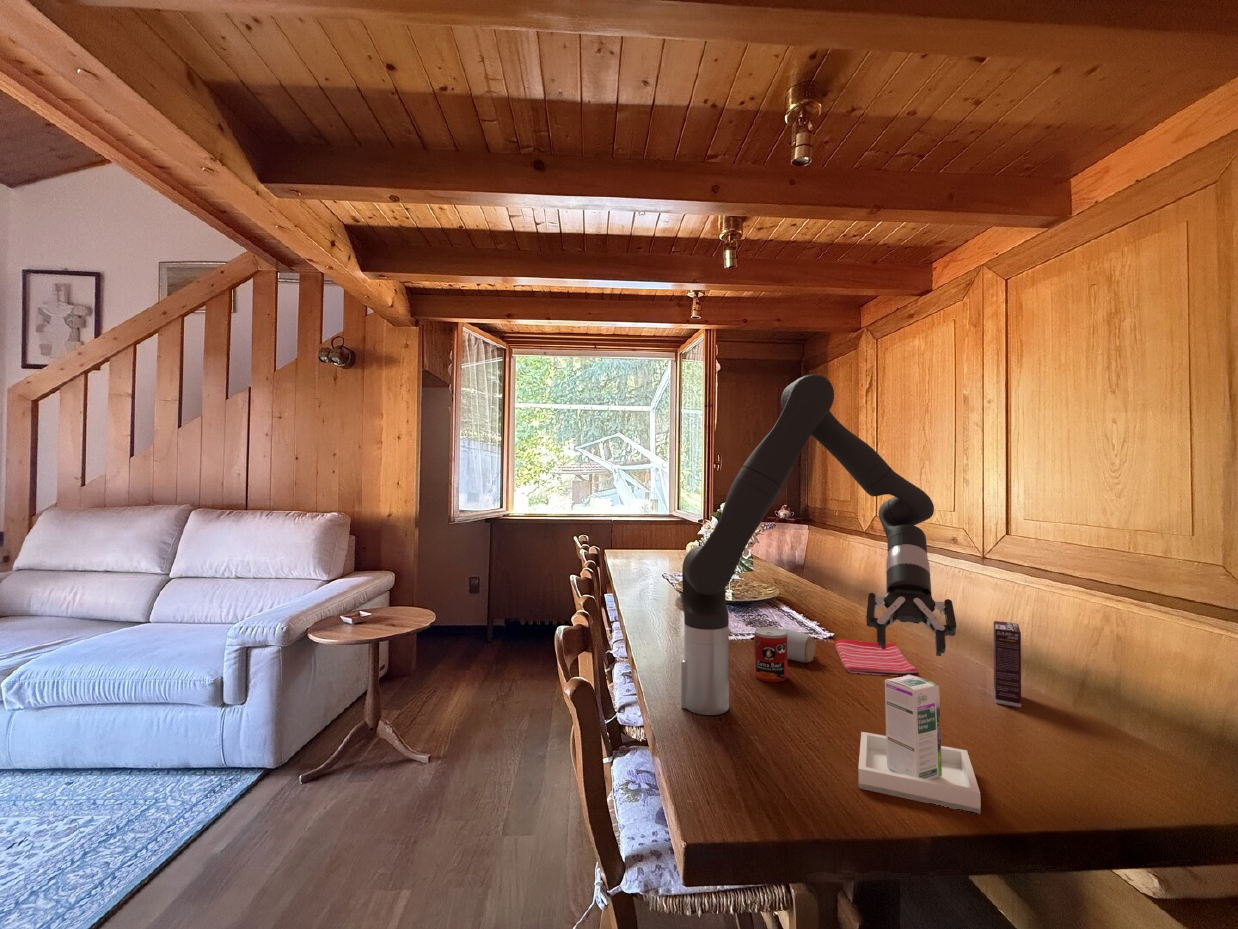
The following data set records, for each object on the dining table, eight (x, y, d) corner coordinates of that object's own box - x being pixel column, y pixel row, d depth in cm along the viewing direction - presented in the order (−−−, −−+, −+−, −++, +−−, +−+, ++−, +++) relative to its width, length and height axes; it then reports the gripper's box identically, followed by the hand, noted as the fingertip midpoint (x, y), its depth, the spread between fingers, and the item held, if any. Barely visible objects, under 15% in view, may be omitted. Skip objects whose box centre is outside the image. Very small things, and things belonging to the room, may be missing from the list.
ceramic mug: (807, 667, 142) (807, 636, 143) (776, 660, 148) (776, 631, 148) (821, 657, 151) (821, 628, 151) (791, 651, 156) (791, 623, 156)
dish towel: (898, 651, 157) (897, 642, 157) (921, 681, 134) (921, 670, 134) (833, 647, 161) (833, 638, 161) (845, 675, 138) (845, 664, 138)
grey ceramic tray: (858, 788, 87) (858, 768, 87) (861, 748, 99) (861, 731, 99) (980, 814, 80) (980, 793, 80) (967, 768, 92) (966, 750, 92)
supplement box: (1022, 708, 117) (1021, 632, 117) (994, 703, 119) (993, 628, 120) (1019, 695, 124) (1018, 623, 124) (993, 690, 127) (992, 620, 127)
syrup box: (917, 785, 86) (916, 690, 86) (885, 767, 91) (884, 677, 92) (942, 777, 88) (941, 684, 89) (909, 760, 94) (908, 672, 94)
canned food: (752, 680, 133) (751, 633, 133) (757, 669, 140) (756, 625, 141) (785, 684, 130) (785, 637, 130) (788, 673, 138) (788, 628, 138)
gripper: (866, 559, 109) (865, 633, 98) (952, 564, 102) (960, 644, 92) (867, 582, 113) (866, 655, 103) (949, 588, 107) (957, 667, 96)
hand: (910, 650), depth 97 cm, fingers open, 8 cm apart
